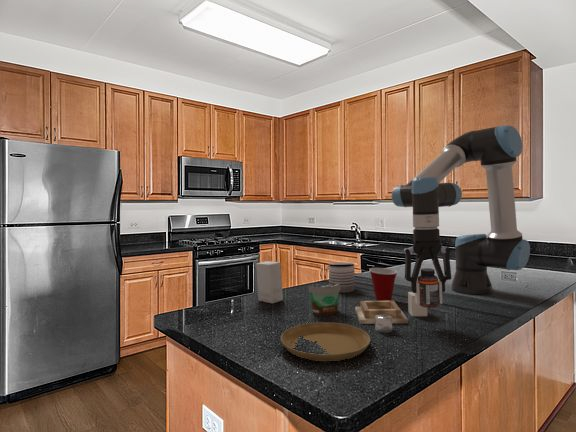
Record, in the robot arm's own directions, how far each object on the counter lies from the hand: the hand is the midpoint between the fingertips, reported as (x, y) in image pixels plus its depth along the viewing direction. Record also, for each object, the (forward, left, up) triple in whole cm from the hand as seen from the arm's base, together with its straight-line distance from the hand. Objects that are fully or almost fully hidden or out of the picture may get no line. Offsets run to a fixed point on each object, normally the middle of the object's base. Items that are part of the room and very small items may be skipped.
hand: (428, 302), depth 116 cm
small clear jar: (+14, +3, -7) cm, 16 cm away
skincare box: (+53, -32, -7) cm, 62 cm away
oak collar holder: (+13, -10, -7) cm, 18 cm away
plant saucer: (+32, +16, -8) cm, 37 cm away
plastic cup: (+8, -30, -7) cm, 32 cm away
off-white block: (0, -12, -7) cm, 14 cm away
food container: (+30, -14, -7) cm, 34 cm away
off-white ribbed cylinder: (+23, -49, -7) cm, 54 cm away
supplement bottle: (0, 0, -1) cm, 1 cm away
